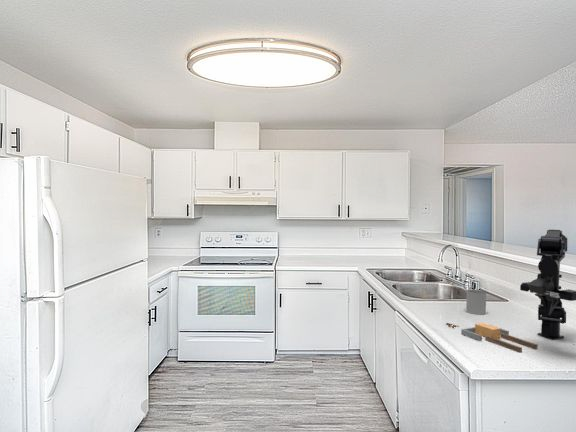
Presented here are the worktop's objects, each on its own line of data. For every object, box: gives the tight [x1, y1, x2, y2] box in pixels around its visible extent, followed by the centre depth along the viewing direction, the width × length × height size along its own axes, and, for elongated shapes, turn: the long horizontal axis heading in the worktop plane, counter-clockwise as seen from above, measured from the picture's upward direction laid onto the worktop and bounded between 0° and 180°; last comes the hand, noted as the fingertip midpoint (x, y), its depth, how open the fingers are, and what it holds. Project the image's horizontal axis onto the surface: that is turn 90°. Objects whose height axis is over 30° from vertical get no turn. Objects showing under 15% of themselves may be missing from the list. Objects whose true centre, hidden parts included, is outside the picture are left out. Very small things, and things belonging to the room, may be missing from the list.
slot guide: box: [484, 333, 538, 353], centre depth 151 cm, size 9×14×2 cm
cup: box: [465, 289, 487, 316], centre depth 195 cm, size 8×8×10 cm
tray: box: [460, 324, 510, 342], centre depth 161 cm, size 16×9×2 cm, turn 114°
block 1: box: [474, 322, 492, 338], centre depth 162 cm, size 4×4×4 cm
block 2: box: [483, 325, 501, 340], centre depth 158 cm, size 4×4×4 cm
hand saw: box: [445, 322, 460, 329], centre depth 180 cm, size 24×5×1 cm, turn 34°
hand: (548, 314), depth 147 cm, fingers closed
